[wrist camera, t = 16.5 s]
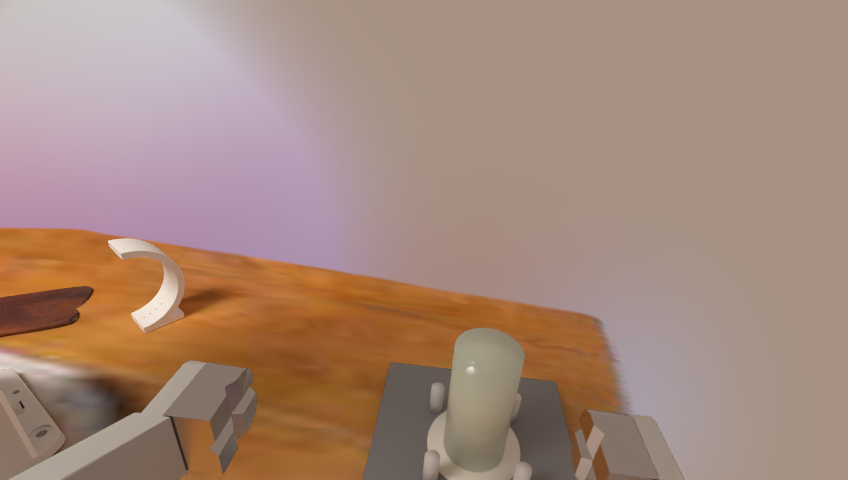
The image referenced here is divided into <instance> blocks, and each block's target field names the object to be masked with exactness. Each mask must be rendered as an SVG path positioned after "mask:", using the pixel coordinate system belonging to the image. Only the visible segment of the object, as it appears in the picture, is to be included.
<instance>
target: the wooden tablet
mask: <svg viewBox="0 0 848 480" xmlns="http://www.w3.org/2000/svg"><path fill="white" fill-rule="evenodd" d="M91 293H92V288H90V287H88V286H82V287H72V288H64V289H56V290H49V291H43V292H36V293H29V294H22V295H15V296H8V297H2V298H0V336H7V335H14V334H21V333H28V332H34V331H41V330H46V329H51V328H57V327H61V326H65V325H70V324H72V323H74V322H75V321H76V320H77V317H78V314H79V312H78V311H77V310H76V308H78V307H80V306H81V305H83V304H84V303H85V302H86V301H87V300H88V299H89V297H90V295H91Z"/></svg>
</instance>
